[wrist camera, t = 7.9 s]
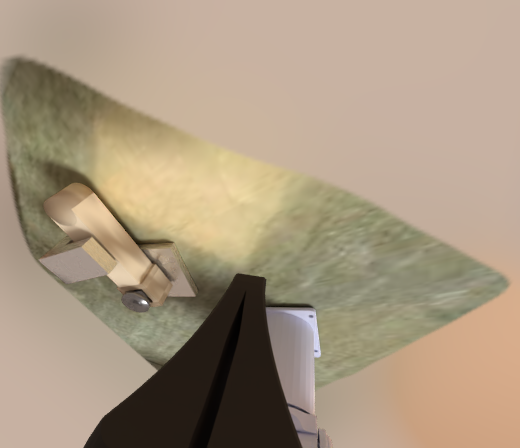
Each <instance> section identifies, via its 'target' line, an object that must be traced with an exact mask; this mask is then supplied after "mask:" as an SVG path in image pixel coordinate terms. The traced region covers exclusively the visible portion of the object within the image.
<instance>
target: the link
mask: <svg viewBox="0 0 520 448" xmlns="http://www.w3.org/2000/svg"><path fill="white" fill-rule="evenodd" d="M43 206H44V210H45V212H46V213H47V214H48V216H49V217H50V218H51V219H52V220H53V221H54V222H55V223H56V224H57V225H58V226H59V227H60V228H61V229H62V230H63V231H64V232H65V233H66V234H67V235H68V236H69V237H70V238H71V239H72V240H73V241H74V242H77V241H80V240H83V239H87V238H90V237H93V238H94V239H95V240H96V241H97V242H98V243H99V244H100V245H101V246H102V248H103V249H104V250H105V251H106V252H107V253H108V254H109V255H110V256H111V257H112V258H113V259H114V260H115V261H116V262H117V263H118V264H117V265H116V266H115V268H114V269H113V270H112V271H111V273H110V274H108V275H107V276H108V277H109V278H110V279H111V280H112V281H113V282H114V283H115V284H116V285H117V286H118V287H117V289H118V290H119V291H120V292H121V293H122V294H123V295H124V294H125V293H126V292H129V291H133V292H134V291H135V290H137V289H142V290H143V291H144V292H145V293H146V294H147V296H148V299H149V301H150V303H151V306H150V307H155V306H162V305H163V303H164V301H165V299H166V298H167V296H168V294H169V292H170V290H171V288H172V286H173V285H172V283H171V282H170V281H169V280H168V278H167V277H166V276H165V275H164V273H163V272H162V271H161V270H160V269H159V267H158V266H157V265H156V264H152V263H151V261H150V260H149V259H148V258H147V257H146V255H145V254H144V253H143V252H142V251H141V249H140V248H139V247H138V246H137V244H136V243H135V242H134V241H133V240H132V238H131V237H130V236H129V235H128V233H127V232H126V231H125V230H124V229H123V227H122V226H121V225H120V224H119V223H118V221H117V220H116V219H115V218H114V216H113V215H112V214H111V213H110V212H109V210H108V209H107V208H106V207H105V205H104V204H103V203H102V202H101V201H100V199H99V198H98V197H97V196H96V195H95V193H94V192H93V191H92V190H91V189H90V188H88V187H87V186H85V185H83V184H81V183H72V184H70V185H68V186H67V187H65V188H64V189H62V190H61V191H59V192H58V193H56V194H54V195H53V196H51V197H50V198H48V199H47V200H45V201H44V204H43Z"/></svg>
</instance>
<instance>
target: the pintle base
mask: <svg viewBox="0 0 520 448" xmlns="http://www.w3.org/2000/svg"><path fill="white" fill-rule="evenodd" d="M137 246H138V247H139V248H140V249H141V251H142V252H143V253H144V254H145V255H146V257H147V258H148V259H149V260H150V261H151V263H152V264H156V265H157V266H158V267H159V269H160V270H161V271H162V272H163V273H164V275H165V276H166V277H167V278H168V280H169V281H170V282H171V283H172V285H173V286H172V288H171V290H170V292H169V294H168V296H180V297H196V295H197V292H198V289H197V287H196V285H195V283H194V281H193V279H192V277H191V275H190V273H189V272H188V270H187V268H186V266H185V264H184V262H183V260H182V258H181V256H180V254H179V252H178V250H177V248H176V246H175V244H174V243H158V244H140V245H137ZM121 300H122V303H123V304H124V305H125V306H126V307H127V308H129V309H131V310H133V311H136V312H146V311H148V309H149V308H150V306H151V303H150V301H149V299H148V296H147V294H146V293H145V292H144V291H143V290H142V289H137V290H135V291H134V292H133V291H129V292H126V293H125V294H124V295H123V297H122V299H121Z"/></svg>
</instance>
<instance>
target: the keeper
mask: <svg viewBox="0 0 520 448" xmlns="http://www.w3.org/2000/svg"><path fill="white" fill-rule="evenodd" d="M38 261H40V262H41V263H42V264H43V265H44V266H45V267H47V268H48V269H49V270H50V271H51V272H53V273H54V274H55V275H56V276H57V277H58V278H60V279H61V280H62V281H63V282H64V283H66V284H69V283H74V282H78V281H82V280H87V279H91V278H95V277H99V276H104V275H108V274H110V273H111V271H112V270H113V269H114V268H115V266H116V265H117V264H118V263H117V262H116V261H115V260H114V259H113V258H112V257H111V256H110V255H109V254H108V253H107V252H106V251H105V250H104V249H103V248H102V246H101V245H100V244H99V243H98V242H97V241H96V240H95V239H94V238H93V237H90V238H87V239H83V240H80V241H77V242H74V241H73V240H72V239H71V238H70V237H69V236H68V235H67V236H66V237H65V238H64V239H62V240H61V241H60V242H59V243H58V244H56V245H55V246H54V247H53V248H52V249H51V250H49V251H48V252H47V253H46V254H45V255H43V256H42V257H41V258H40V259H39V260H38Z"/></svg>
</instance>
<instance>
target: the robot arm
mask: <svg viewBox="0 0 520 448" xmlns="http://www.w3.org/2000/svg"><path fill="white" fill-rule="evenodd" d="M265 288H266V279H265V278H264V277H258V276H252V275H245V274H239V273H238V274H236V275H235V277H234V279H233V281H232V282H231V284H230V286H229V287H228V289H227V291H226V292H225V294H224V295H223V297H222V298H221V300H220V301H219V302H218V304H217V305H216V307H215V308H214V309H213V311H212V312H211V314H210V315H209V316H208V317H207V319H206V320H205V321H204V322H203V324H202V325H201V326H200V327H199V329H198V330H197V331H196V332H195V333H194V334H193V336H192V337H191V338H190V339H189V340H188V341H187V342H186V343H185V344H184V346H183V347H182V348H181V349H180V350H179V351H178V352H177V353H176V354H175V355H174V356H173V357H172V358H171V359H170V360H169V361H168V362H167V363H166V364H165V365H164V366H163V367H162V368H161V369H160V370H159V371H157V372H156V373H155V374H154V375H153V376H152V377H151V378H150V379H148V380H147V381H146V382H145V383H144V384H143V385H142V386H141V387H140V388H138V389H137V390H136V391H135V392H134V393H132V394H131V395H130V396H129V397H128V398H126V399H125V400H124V401H123V402H121V403H120V404H119V405H118V406H117V407H115V408H114V409H113V410H111V411H110V412H109V413H108V414H107V415H105V416H104V417H103V418H102V420H101V421H100V422H99V424H98V425H97V427H96V428H95V430H94V431H93V433H92V434H91V436H90V437H89V439H88V441H87V442H86V444H85V446H84V448H333V445H332V440H331V439H330V437H329V436H328V435H327V434H326V431H325V430H324V429H318V439H317V416H315V377H314V357H320V356H321V351H320V343H319V335H318V327H317V319H316V311H315V309H313V308H291V307H266V305H265Z"/></svg>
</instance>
